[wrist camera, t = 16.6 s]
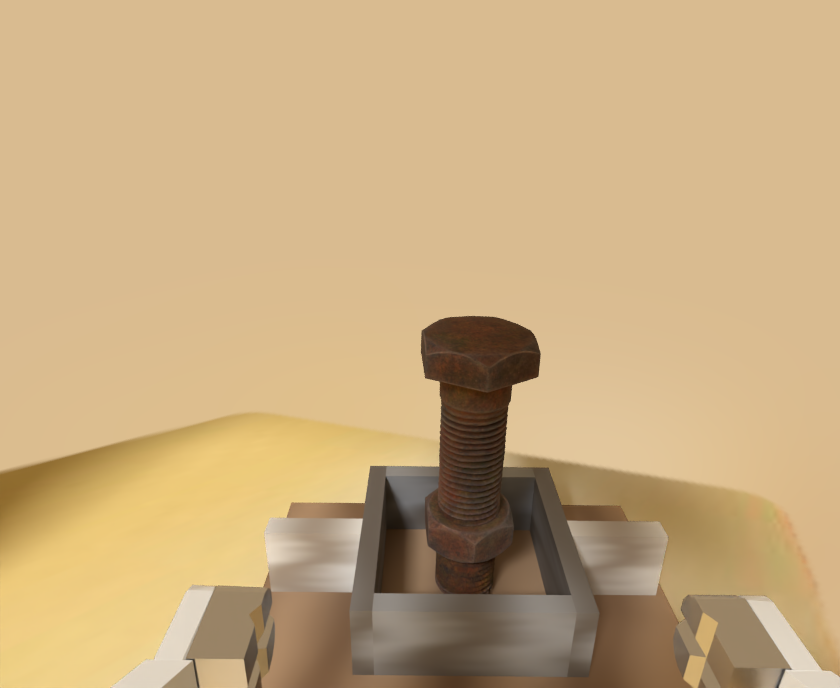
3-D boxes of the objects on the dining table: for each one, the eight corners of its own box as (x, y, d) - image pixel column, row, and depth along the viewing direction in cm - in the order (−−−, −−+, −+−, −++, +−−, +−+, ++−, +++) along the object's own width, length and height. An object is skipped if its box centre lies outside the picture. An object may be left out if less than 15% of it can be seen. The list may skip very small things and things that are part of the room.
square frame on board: (228, 727, 26) (212, 638, 24) (293, 520, 39) (286, 451, 37) (715, 732, 26) (742, 644, 24) (617, 523, 39) (629, 455, 37)
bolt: (447, 643, 28) (461, 367, 22) (395, 577, 32) (395, 328, 26) (533, 593, 31) (565, 339, 25) (475, 539, 35) (492, 307, 29)
